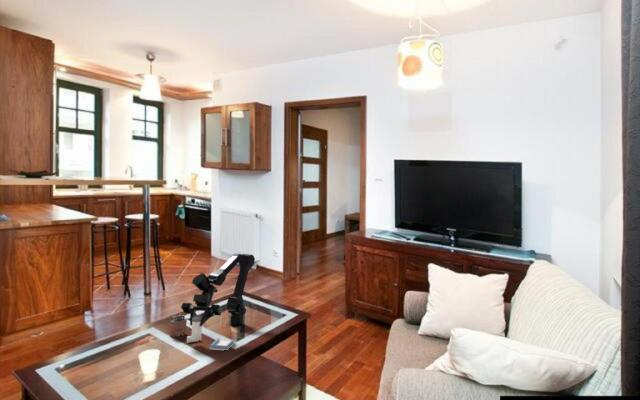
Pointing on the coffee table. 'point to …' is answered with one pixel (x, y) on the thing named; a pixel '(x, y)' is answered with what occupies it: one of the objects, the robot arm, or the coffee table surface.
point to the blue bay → (221, 345)
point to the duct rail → (190, 339)
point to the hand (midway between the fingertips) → (195, 325)
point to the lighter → (178, 325)
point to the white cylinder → (196, 328)
